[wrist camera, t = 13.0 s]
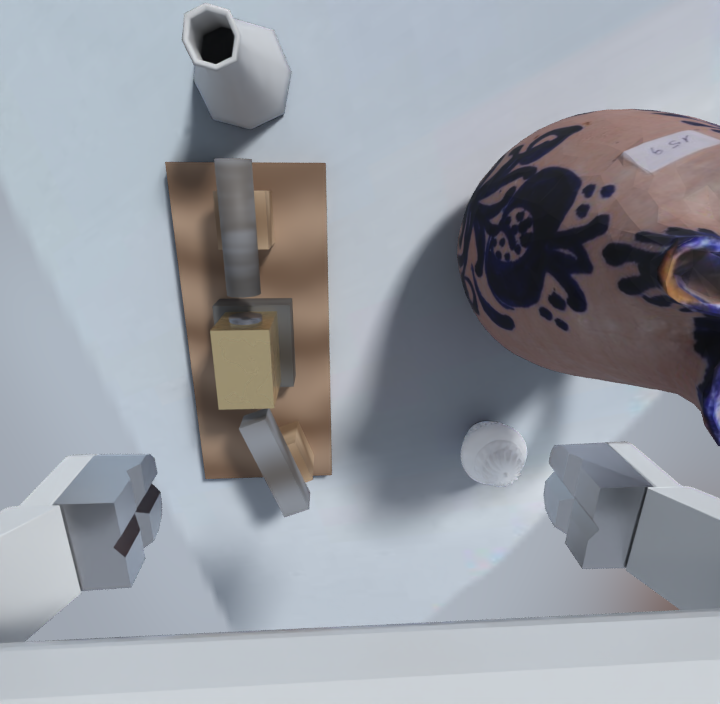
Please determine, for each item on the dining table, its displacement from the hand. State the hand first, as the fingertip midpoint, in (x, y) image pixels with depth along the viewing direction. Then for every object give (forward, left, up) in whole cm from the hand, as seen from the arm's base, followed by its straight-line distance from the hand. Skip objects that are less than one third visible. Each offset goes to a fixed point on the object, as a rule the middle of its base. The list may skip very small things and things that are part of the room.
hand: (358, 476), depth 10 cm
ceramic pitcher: (-1, +19, -32) cm, 37 cm away
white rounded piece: (+18, +14, -32) cm, 39 cm away
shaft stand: (+7, -7, -32) cm, 33 cm away
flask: (-13, -7, -32) cm, 35 cm away
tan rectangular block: (+7, -7, -28) cm, 30 cm away
